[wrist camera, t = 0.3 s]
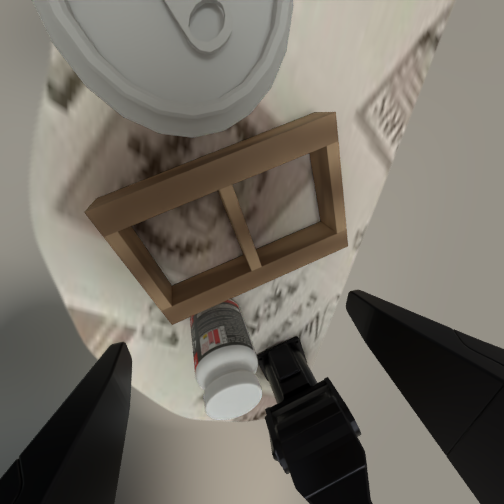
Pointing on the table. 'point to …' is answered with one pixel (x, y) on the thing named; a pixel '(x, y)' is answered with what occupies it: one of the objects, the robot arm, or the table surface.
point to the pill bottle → (225, 361)
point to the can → (173, 56)
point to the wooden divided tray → (230, 215)
